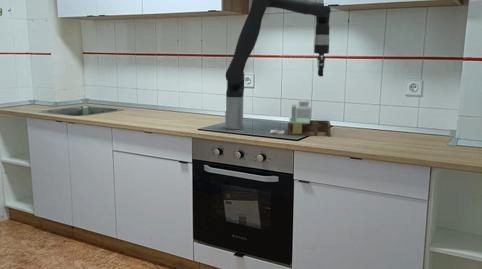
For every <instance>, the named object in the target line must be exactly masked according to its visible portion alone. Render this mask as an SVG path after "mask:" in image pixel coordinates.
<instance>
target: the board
mask: <svg viewBox="0 0 482 269" xmlns="http://www.w3.org/2000/svg"><path fill="white" fill-rule="evenodd" d="M331 127H332V125H331V121H330V120H321V119H319V120H318V119H311V120H310V124H302V134H293V123H289V122H288V123H287V130H285V129H270V130H269V132H268V135H273V136H274V135H277V136H278V135H280V136H303V137H305V136H306V137H307V136H308V137H309V136H310V137H328V138H329V137H331Z"/></svg>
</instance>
